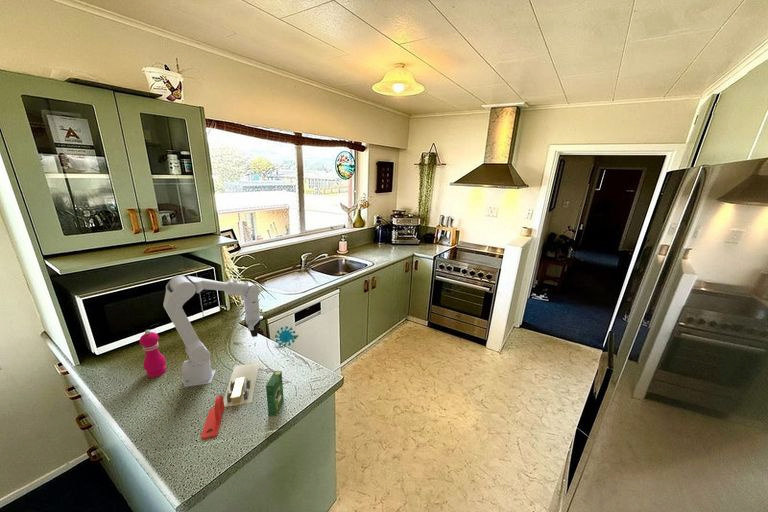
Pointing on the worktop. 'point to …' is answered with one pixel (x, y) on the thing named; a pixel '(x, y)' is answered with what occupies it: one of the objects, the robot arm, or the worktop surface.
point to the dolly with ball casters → (248, 384)
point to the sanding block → (238, 390)
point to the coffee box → (274, 393)
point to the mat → (246, 372)
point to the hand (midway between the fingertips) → (254, 335)
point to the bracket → (214, 419)
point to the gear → (286, 336)
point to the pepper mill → (152, 354)
